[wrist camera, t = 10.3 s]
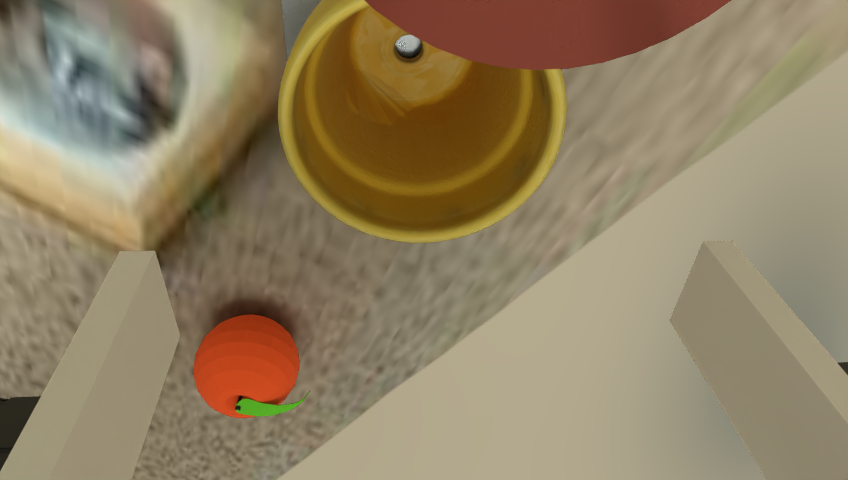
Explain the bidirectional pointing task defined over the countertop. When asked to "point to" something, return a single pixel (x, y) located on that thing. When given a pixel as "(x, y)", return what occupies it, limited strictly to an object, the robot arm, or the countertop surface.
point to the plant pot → (412, 129)
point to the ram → (544, 28)
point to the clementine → (247, 367)
